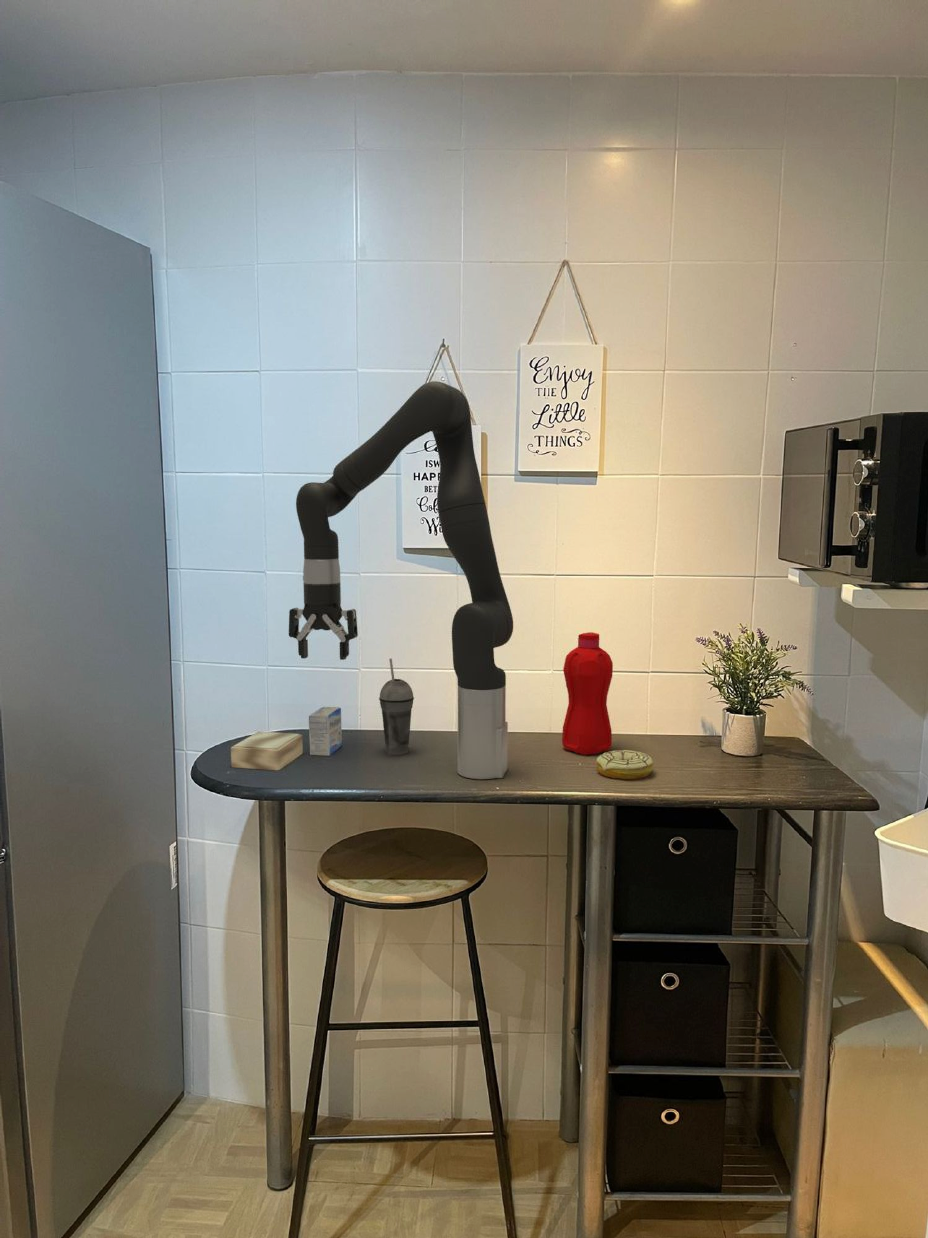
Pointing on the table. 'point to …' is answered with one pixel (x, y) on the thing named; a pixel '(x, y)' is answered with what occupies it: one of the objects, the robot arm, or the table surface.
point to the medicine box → (325, 731)
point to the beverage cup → (396, 714)
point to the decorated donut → (624, 764)
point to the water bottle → (587, 697)
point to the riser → (267, 750)
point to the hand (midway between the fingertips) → (323, 658)
